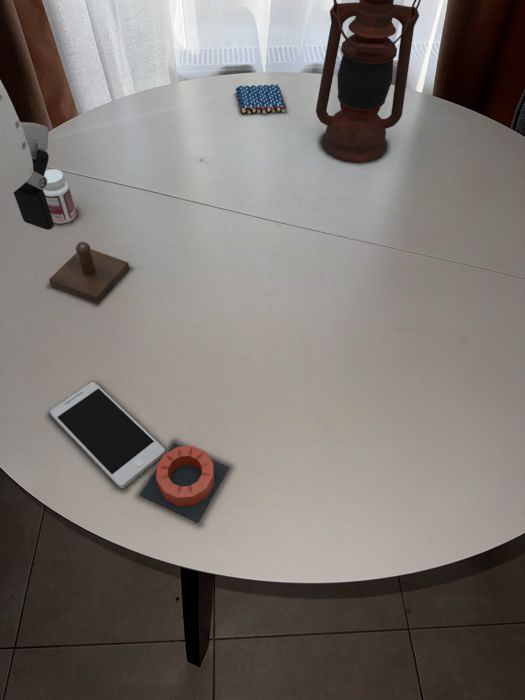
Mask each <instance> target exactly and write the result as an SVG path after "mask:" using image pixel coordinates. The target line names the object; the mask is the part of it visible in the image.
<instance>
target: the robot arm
mask: <svg viewBox="0 0 525 700" xmlns="http://www.w3.org/2000/svg"><path fill="white" fill-rule="evenodd" d="M48 146H49V128H48V127H47V126H46V125H43V124H39V123H36V122H26V121H25V122H24V121H20V119H19V116H18V114H17V112H16V109H15V106H14V105H13V102H12V100H11V98H10V96H9V93H8V92H7V90H6V88H5V86H4V84H3V82H2V80H1V79H0V204H1V203H2V202H3V201H5V200H6V199H7V198H9V197H10V196H11V195H13V196H14V198H15V201H16V203H17V207H18V209H19V212H20V215H21V217H22V220H23V222H24V223H26V224H29V225H32V226H34V227H37V228H40V229H43V230H46V231H47V230H48V231H50V230H52V229H53V228H54V227H55V223H54V222H53V219H52V216H51V213H50V210H49V207H48V203H47V200H46V197H45V194H44V191H43V190H44V189H45V188H46V186H47V178H46V177H44V174H45V171H47V166H48V163H49V158H50V156H49V155H50V154H49V153H48V151H47V150H48Z"/></svg>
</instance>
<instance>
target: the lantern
mask: <svg viewBox="0 0 525 700" xmlns="http://www.w3.org/2000/svg"><path fill="white" fill-rule="evenodd" d="M421 1H422V0H413V2H412V4H411V6H409V5H401V4H397V3H394V2H395V0H359V1H358V2H340V3H338V1H337V0H333V1H332V2H333V5H332V6H331V8H330V10H329V17H330V28H329V33H328V39H327V43H326V50H325V54H324V55H325V56H324V60H323V61H324V62H323V66H322V71H321V72H322V73H321V79H320V83H319V90H318V94H317V95H318V96H317V101H316V105H315V106H316V107H315V114H316V117H317V119H318V120H319V122H320V123H322V124H323V125H325V126H326V128H325V129H326V130H325V132H324V133H323V134H322V137H321V141H320V144H321V146H322V149H323V150H324V151H325V153H326V154H327V155H329V156H331V157H332V158H334V159H337V160H339V161H342V162H346V163H353V164H362V163H363V164H365V163H371V162H375V161H377V160H378V159H380V158H383V156H384V155H385V153H386V152H387V150H388V142H387V140H386V137H387V130H388V129H389V128H392V127H394V126H395V125H396V124H397V123H398V122H399V121H400V120H401V118H402V117H403V111H404V103H405V96H406V89H407V82H408V76H409V66H410V60H411V53H412V45H413V39H414V38H413V37H414V31H415V26H416V25H417V23H418V22H417V21H418V20H419V17H420V13H419V7H420V4H421ZM415 5H416V6H415ZM352 17H354V19H353V20H352V21H351V22H350V23H349V24H348V26H347V27H348V30H349V31H350V32H351V33H352V34H351V35H350V36H348V37H347V35H346V33H345V32H344V29H343V27H344V24H345V22H346V21H347V20H349V19H350V18H352ZM393 19H395V20H397V21H398V22H399V23H400V25H401V31H400V34H399V36H398V37H397V38H396V39H395V40H394V41H392V40H391V39H390V37H393V36H394V35H395V34H396V33H397V28H396V26H395V25H394V22H393ZM341 37H343V38H344V40H343V41H342V43H341ZM399 40H400V41H399ZM398 41H399V48H398V47H397V45H396V43H398ZM340 43H341V46H340ZM339 48H340V52H341V54H342V57H341V59H340V63H339V68H338V70H337V74H336V75H337V76H336V79H337V100H338V102H339V106H340V110H339V111H337V112H336V113H334V114H333V115H330V114H329V113H328V105H329V100H330V95H331V90H332V84H333V79H334V74H335V69H336V63H337V58H338V52H339ZM397 53H398V56H397ZM396 57H397V63H396V64H397V65H396V73H395V80H394V81H395V82H394V88H393V96H392V97H393V98H392V103H391V104H392V106H391V112H390V113H391V114H390V115H389V116H388V117H386V118H382V117H381V116H380V115H379V112H380V110H381V107H383V105H384V104H385V103H386V99H387V96H388V95H389V91H390V89H391V86H392V82H393V75H394V59H395V58H396Z"/></svg>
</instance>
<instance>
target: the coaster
mask: <svg viewBox="0 0 525 700" xmlns="http://www.w3.org/2000/svg"><path fill="white" fill-rule="evenodd" d="M176 447H183V446H182V445H180V444H178V443H176V442H173V443H172V444H171V446H170V447H169V449H168V451H167V452H166V453H168V452H169V451H171V450H173V449H175V448H176ZM210 459H211V460H212V461H213V467H214V486H213V488H212V490H211V492H210V493H209V495H208V497H207V498H205V499H204V500H202V501H200V502H199V503H197V504H195V505H192V506H177V505H175V504H173V503H171V502H169V501H166V500H165V498H164V497H163V495H162V494H161V492H160V490H159V488H158V484H157V480H156V472H157V468H156V469H155V471H154V472H153V473H152V475H151V476H150V478H149V479H148V481H147V482H146V484H145V485H144V487H143V489H142V491H141V492H140V494H139V496H140V497H143V498H144V499H146V500H149V501H150V502H152V503H155V504H157V505H159V506H161V507H163V508H166V509H167V510H170V511H172V512H174V513H176V514H178V515H180V516H182V517H184V518H187V519H188V520H190V521H193V522H195V523H199V522H200V520H201V518H202V517H203V515H204V513H205V511H206V509H207V508H208V506H209V504H210V502H211V500H212V499H213V497H214V495H215V493H216V492H217V490H218V489H219V486H221V485H220V484H221V483H222V482H223V480H224V479H225V478H224V477H226V474H227V472H228V471H229V469H230V467H229V466H228V465H227V464H224V463H222V462H219V461H217V460H214V459H212V458H210ZM201 475H202V473H201V472H200V470H199V469H198V468H196V467H194V466H192V465H186V466H181V467H179V468H177V469H176V470H174V472H173V473H172V475H171V477H170V480H171V481H172V483H173V484H176V485H178V486H180V487H182V486H191V485H192V484H194V483H196V482H197V481H198V480H199V478H200V476H201Z"/></svg>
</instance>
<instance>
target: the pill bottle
mask: <svg viewBox="0 0 525 700" xmlns="http://www.w3.org/2000/svg"><path fill="white" fill-rule="evenodd" d="M44 177H46V178H47V186H46V188H45V189H44V190H43V191H44V194H45V197H46V200H47V203H48V207H49V210H50V213H51V216H52V219H53V223H54V224H58V225H59V224H60V225H61V224H62V225H63V224H66V223H70V222H72V221H73V220H74V219H75V218H76V217H77V210H76V206H75V203H74V199H73V196H72V193H71V189H70V185H69V183H68V182H67V181H66V178H65V174H64V172H63V171H61V170H59V169H56V168H51V169H46V171H45V174H44Z"/></svg>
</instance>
